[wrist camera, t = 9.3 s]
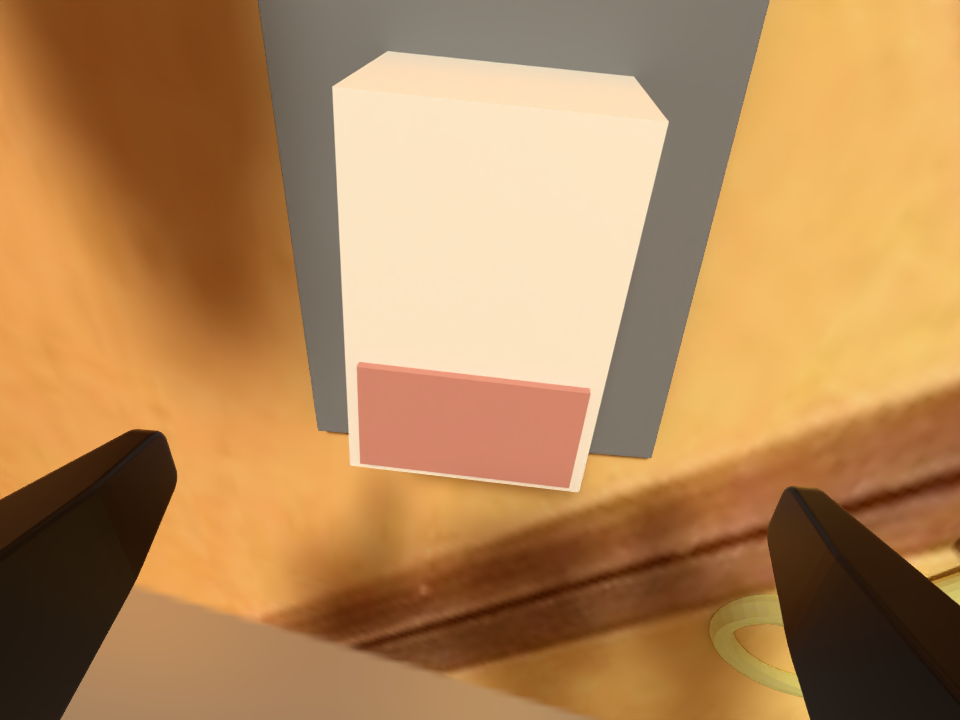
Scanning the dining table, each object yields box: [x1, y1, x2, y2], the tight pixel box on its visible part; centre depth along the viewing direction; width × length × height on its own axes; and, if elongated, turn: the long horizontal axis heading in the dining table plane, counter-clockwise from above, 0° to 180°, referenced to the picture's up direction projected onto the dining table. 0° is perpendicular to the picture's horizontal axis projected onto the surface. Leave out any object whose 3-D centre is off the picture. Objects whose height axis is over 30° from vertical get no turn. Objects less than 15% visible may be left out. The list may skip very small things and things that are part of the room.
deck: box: [332, 51, 669, 492], centre depth 14 cm, size 6×9×5 cm, turn 175°
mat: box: [258, 0, 770, 458], centre depth 17 cm, size 14×11×1 cm
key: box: [709, 572, 960, 698], centre depth 23 cm, size 7×12×2 cm, turn 157°
